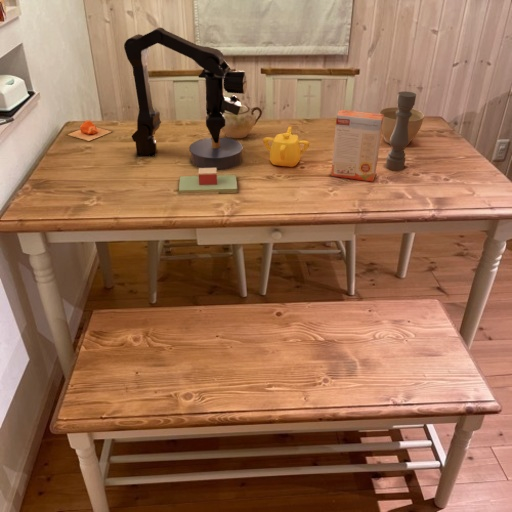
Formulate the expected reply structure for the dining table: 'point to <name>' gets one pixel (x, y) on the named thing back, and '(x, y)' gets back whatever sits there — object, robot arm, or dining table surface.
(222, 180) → the board
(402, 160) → the candle holder
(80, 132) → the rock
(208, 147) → the lid
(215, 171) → the meat
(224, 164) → the pot
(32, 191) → the dining table surface
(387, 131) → the planter bowl
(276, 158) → the teapot
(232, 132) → the sugar bowl
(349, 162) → the cracker box
